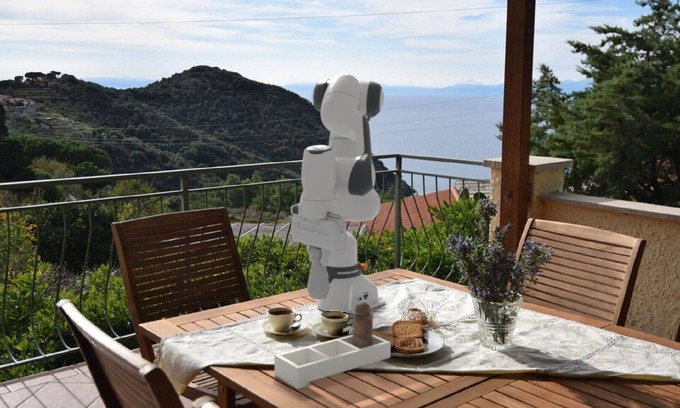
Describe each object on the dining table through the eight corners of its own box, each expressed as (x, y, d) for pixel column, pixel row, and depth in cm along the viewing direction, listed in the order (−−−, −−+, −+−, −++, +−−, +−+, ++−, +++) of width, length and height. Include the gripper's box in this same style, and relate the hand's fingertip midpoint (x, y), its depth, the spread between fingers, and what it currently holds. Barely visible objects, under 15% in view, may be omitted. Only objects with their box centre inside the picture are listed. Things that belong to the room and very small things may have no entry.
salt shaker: (327, 300, 169) (327, 250, 167) (304, 299, 170) (305, 249, 168) (331, 294, 175) (332, 245, 173) (310, 293, 176) (310, 244, 174)
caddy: (365, 349, 177) (365, 331, 177) (390, 361, 170) (390, 342, 169) (274, 374, 161) (274, 355, 160) (297, 389, 153) (297, 368, 152)
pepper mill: (363, 350, 174) (364, 298, 172) (376, 356, 170) (376, 303, 168) (348, 355, 171) (348, 301, 169) (361, 360, 167) (361, 306, 165)
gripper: (353, 214, 163) (353, 269, 165) (307, 204, 179) (307, 255, 181) (332, 216, 159) (332, 273, 161) (287, 206, 176) (287, 258, 177)
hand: (318, 263), depth 171 cm, fingers closed on salt shaker, 3 cm apart
